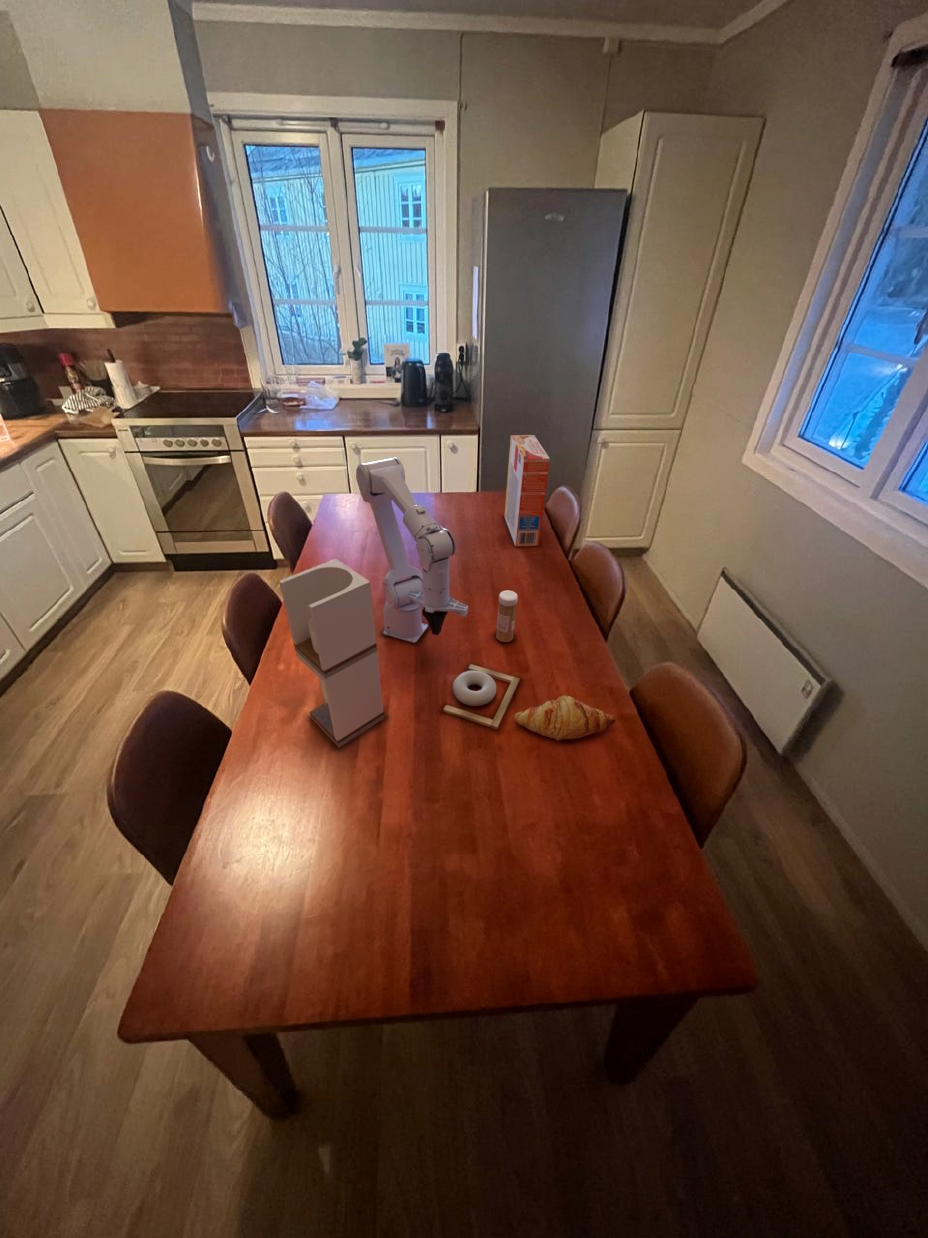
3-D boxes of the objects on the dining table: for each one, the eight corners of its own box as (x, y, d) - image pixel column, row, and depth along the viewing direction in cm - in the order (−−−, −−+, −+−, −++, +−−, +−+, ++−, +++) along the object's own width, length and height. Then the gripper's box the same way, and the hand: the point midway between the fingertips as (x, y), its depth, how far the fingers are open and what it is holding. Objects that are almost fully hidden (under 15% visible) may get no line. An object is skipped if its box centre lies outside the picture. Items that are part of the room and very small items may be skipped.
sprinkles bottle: (516, 639, 131) (521, 596, 122) (502, 645, 129) (506, 602, 120) (506, 629, 134) (510, 587, 125) (492, 635, 132) (495, 592, 123)
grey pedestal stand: (355, 692, 114) (335, 558, 93) (384, 718, 108) (370, 581, 87) (311, 718, 107) (278, 580, 86) (338, 747, 102) (311, 607, 80)
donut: (493, 677, 119) (451, 678, 118) (494, 666, 117) (451, 667, 116) (498, 709, 111) (453, 710, 110) (500, 698, 109) (454, 699, 108)
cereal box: (538, 545, 171) (550, 458, 153) (515, 546, 170) (523, 458, 152) (525, 516, 189) (534, 434, 171) (504, 516, 188) (510, 435, 170)
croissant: (513, 744, 108) (517, 736, 100) (512, 698, 112) (515, 688, 104) (612, 745, 107) (623, 737, 100) (607, 699, 112) (617, 688, 104)
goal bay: (443, 711, 110) (443, 709, 109) (470, 666, 122) (470, 663, 121) (497, 729, 106) (497, 727, 106) (519, 681, 118) (519, 678, 118)
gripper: (397, 585, 108) (400, 634, 116) (459, 601, 104) (458, 651, 112) (412, 569, 113) (414, 617, 121) (472, 584, 109) (470, 632, 117)
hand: (436, 632), depth 117 cm, fingers closed
